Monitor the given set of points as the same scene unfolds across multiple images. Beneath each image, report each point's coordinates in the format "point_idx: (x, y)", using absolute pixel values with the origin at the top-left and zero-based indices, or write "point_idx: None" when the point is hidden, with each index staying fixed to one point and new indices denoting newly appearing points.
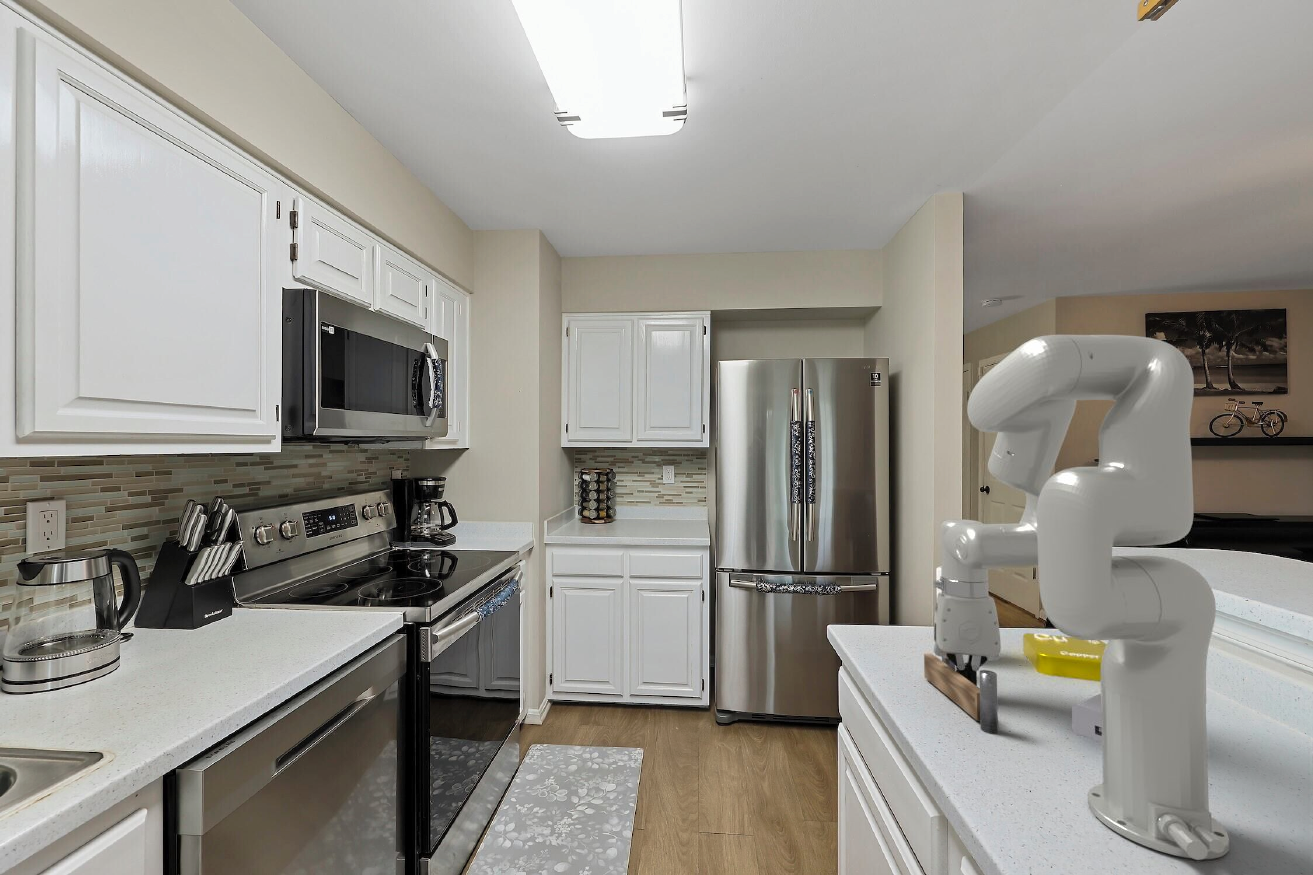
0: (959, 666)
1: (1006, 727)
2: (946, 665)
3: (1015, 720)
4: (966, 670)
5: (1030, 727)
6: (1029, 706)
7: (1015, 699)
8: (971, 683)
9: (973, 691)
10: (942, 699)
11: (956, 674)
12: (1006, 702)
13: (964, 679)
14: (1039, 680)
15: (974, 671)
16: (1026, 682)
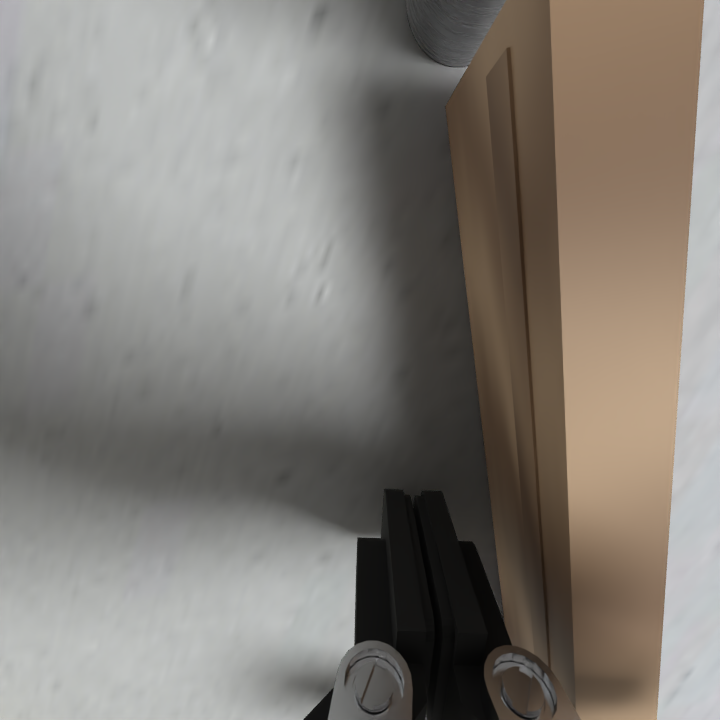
0: (539, 686)
1: (321, 81)
2: (589, 717)
3: (229, 218)
4: (461, 640)
5: (161, 118)
6: (102, 433)
7: (156, 505)
8: (583, 302)
9: (690, 15)
10: None
11: (617, 541)
12: (213, 462)
13: (604, 419)
14: (3, 706)
15: (373, 645)
16: (63, 683)
